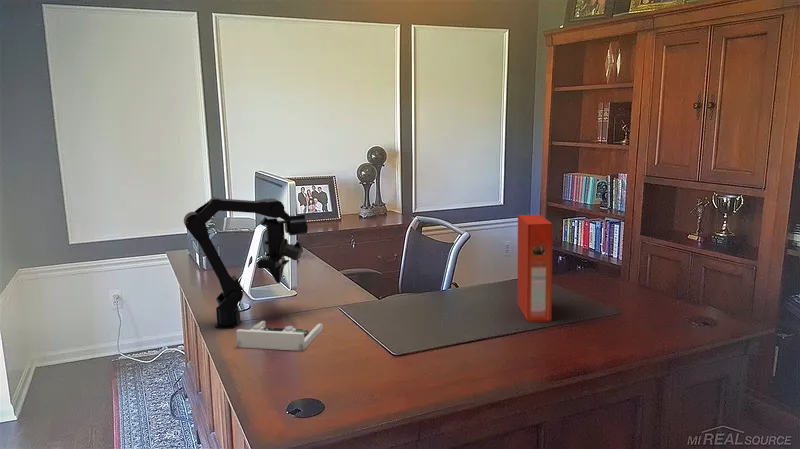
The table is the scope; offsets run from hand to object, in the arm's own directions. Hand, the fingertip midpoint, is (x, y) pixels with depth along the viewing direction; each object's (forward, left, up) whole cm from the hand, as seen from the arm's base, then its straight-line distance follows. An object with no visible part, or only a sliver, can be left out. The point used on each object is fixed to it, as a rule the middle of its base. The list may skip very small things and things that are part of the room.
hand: (278, 282), depth 200 cm
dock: (+8, -19, -12) cm, 24 cm away
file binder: (+84, +15, -12) cm, 86 cm away
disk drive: (+8, -21, -13) cm, 26 cm away
